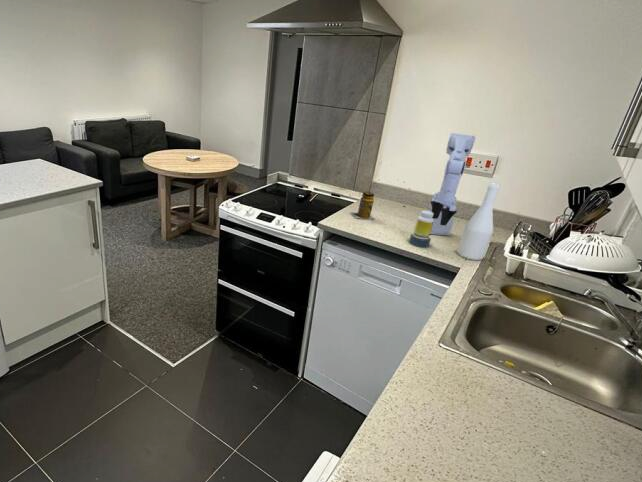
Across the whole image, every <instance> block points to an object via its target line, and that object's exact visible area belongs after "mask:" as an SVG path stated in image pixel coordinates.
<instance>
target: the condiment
mask: <svg viewBox="0 0 642 482" xmlns="http://www.w3.org/2000/svg"><path fill="white" fill-rule="evenodd" d="M361 196H362V197H360V200H359V201H360V202H359V205H358V211H357V212H351V215H352V216H353V217H354V218H356V219H366V220H373V219H374V218H373V217H372V216H371V214H372V210H373V206H374V200H375V199H374V197H375V193H374V192H371V191H363V192H362V195H361Z"/></svg>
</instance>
